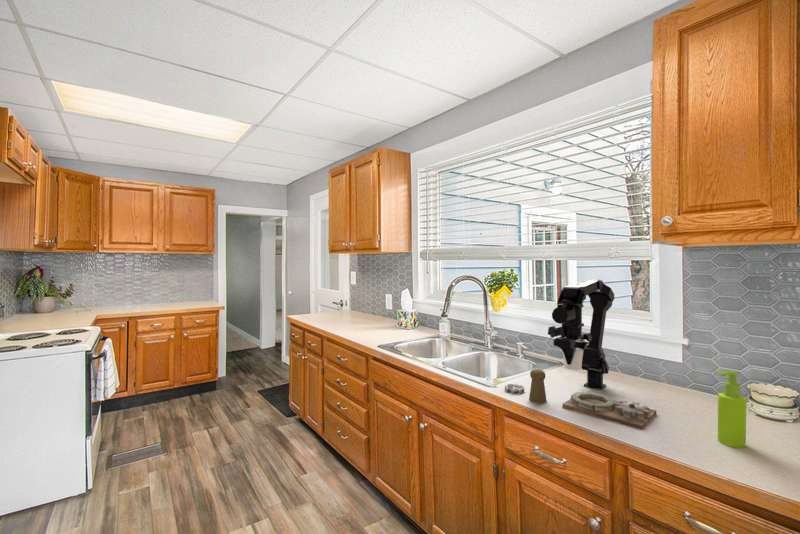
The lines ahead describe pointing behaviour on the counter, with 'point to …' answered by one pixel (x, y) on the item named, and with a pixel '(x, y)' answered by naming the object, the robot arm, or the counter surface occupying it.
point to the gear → (514, 388)
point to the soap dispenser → (731, 413)
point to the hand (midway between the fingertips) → (573, 362)
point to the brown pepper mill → (537, 387)
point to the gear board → (611, 409)
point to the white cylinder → (575, 360)
